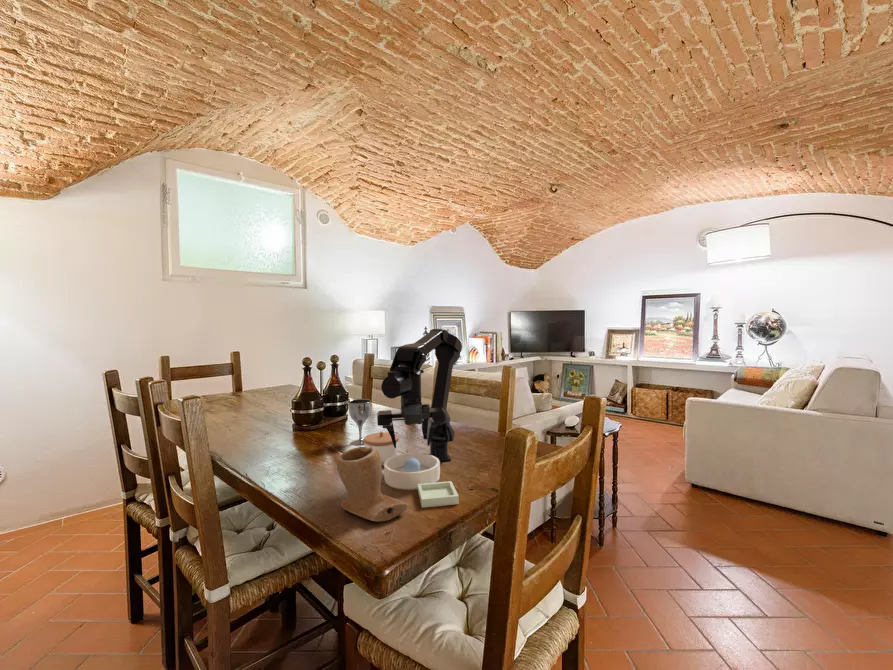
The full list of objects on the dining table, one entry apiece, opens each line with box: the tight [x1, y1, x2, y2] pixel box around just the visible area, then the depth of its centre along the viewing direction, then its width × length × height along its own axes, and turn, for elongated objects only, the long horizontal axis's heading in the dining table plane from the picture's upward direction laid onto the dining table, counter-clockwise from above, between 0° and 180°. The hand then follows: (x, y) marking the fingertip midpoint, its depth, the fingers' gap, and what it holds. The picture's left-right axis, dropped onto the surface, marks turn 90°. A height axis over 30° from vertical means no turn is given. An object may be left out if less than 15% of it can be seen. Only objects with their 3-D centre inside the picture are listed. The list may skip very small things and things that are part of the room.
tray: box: [417, 480, 460, 509], centre depth 104 cm, size 9×9×2 cm
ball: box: [404, 458, 420, 472], centre depth 116 cm, size 5×5×5 cm
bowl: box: [383, 452, 441, 491], centre depth 116 cm, size 15×15×4 cm
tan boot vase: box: [336, 446, 409, 522], centre depth 96 cm, size 15×12×15 cm
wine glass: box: [347, 398, 372, 447], centre depth 149 cm, size 8×8×15 cm
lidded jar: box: [363, 431, 400, 466], centre depth 129 cm, size 11×11×9 cm
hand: (411, 446), depth 116 cm, fingers open, 9 cm apart
